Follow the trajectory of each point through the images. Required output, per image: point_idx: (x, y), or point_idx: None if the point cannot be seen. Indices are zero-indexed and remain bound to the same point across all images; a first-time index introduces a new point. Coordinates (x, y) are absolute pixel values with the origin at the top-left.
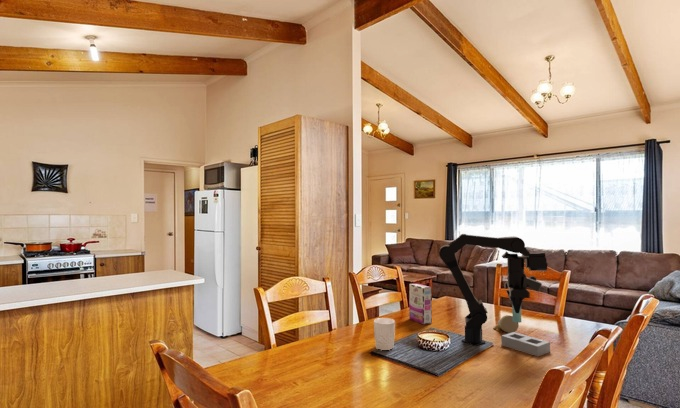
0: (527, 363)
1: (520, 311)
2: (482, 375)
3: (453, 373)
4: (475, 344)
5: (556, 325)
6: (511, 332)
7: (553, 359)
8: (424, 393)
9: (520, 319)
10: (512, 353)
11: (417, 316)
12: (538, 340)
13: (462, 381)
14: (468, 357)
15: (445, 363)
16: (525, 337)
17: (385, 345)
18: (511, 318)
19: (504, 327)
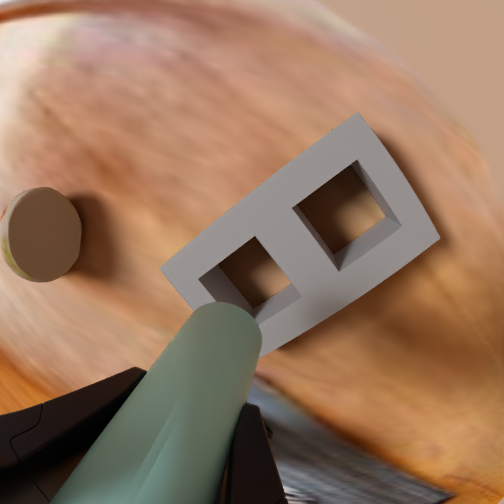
0: (476, 308)
1: (226, 389)
2: (490, 439)
3: (456, 481)
4: (271, 435)
5: (15, 22)
6: (80, 224)
7: (450, 165)
8: (492, 495)
9: (249, 335)
10: (369, 331)
11: None
12: (329, 175)
13: (492, 466)
14: (379, 462)
15: (402, 495)
16: (269, 239)
17: None
18: (19, 231)
19: (66, 264)
